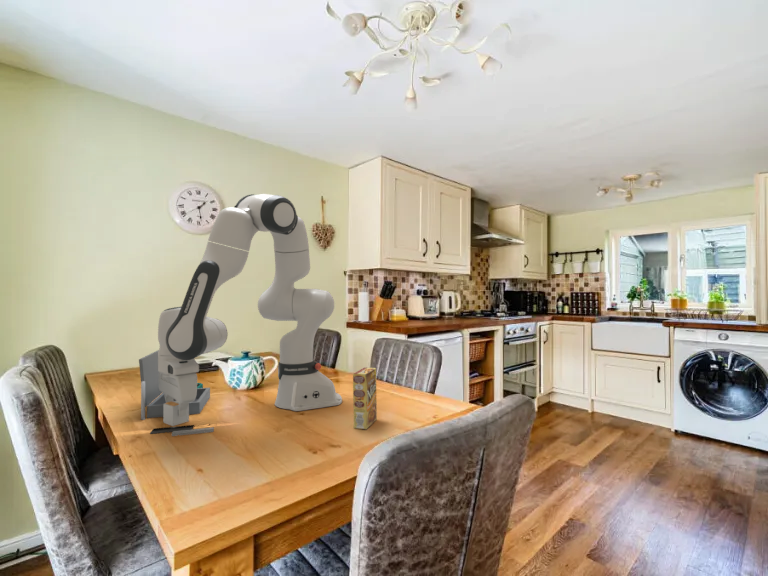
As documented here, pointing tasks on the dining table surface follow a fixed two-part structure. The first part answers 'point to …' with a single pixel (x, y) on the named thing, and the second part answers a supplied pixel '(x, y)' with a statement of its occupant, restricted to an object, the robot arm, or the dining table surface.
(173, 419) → the block
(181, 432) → the rod
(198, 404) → the case
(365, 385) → the candy box
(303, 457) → the dining table surface
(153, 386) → the lid
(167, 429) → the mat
